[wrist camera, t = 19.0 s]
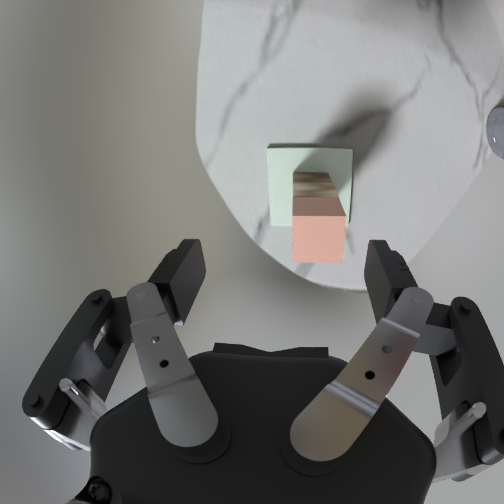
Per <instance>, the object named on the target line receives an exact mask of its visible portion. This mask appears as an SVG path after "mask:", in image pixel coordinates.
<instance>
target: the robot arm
mask: <svg viewBox="0 0 504 504" xmlns="http://www.w3.org/2000/svg"><path fill="white" fill-rule="evenodd" d="M487 138H488V142H489V145H490V147H491V149H492V150H493V152H494V153H495V154H496V155H497V156H499V157H500V158H503V159H504V107H496V108H495V109H493V111H492V112H491V113H490V115H489V118H488V121H487ZM205 273H206V268H205V262H204V257H203V252H202V247H201V243H200V240H199V239H184V240H183V241H182V242H181V243H180V245H179V246H178V248H177V249H173V250H172V251H170V252H169V253H168V254H166V256H165V257H164V259H163V260H162V262H161V263H160V264H159V265H158V267H157V268H156V270H155V271H154V273H153V274H152V275H151V277H150V279H149V280H148V281H147V282H145V283H140V284H138V285H136V286H134V287H132V288H131V289H130V290H129V291H128V293H127V295H126V296H124V297H118V298H112V296H111V294H110V292H109V291H108V290H106V289H101V290H97V291H94V292H92V293H91V294H89V295H88V296H87V297H86V299H85V300H84V301H83V303H82V304H81V305H80V307H79V308H78V310H77V311H76V312H75V314H74V315H73V317H72V318H71V320H70V321H69V323H68V324H67V325H66V327H65V328H64V330H63V331H62V333H61V334H60V336H59V337H58V339H57V341H56V342H55V344H54V345H53V347H52V349H51V350H50V352H49V353H48V355H47V356H46V358H45V360H44V361H43V363H42V365H41V366H40V368H39V370H38V372H37V373H36V375H35V377H34V379H33V380H32V382H31V384H30V386H29V388H28V389H27V391H26V393H25V395H24V397H23V402H22V408H23V411H24V413H25V414H26V415H27V416H28V417H29V418H31V419H32V420H33V421H34V422H35V423H37V424H38V425H39V427H41V428H42V429H43V430H44V431H45V432H47V433H48V434H49V435H51V436H52V437H53V438H55V439H56V440H58V441H59V442H62V443H63V444H65V445H66V446H68V447H69V448H71V449H73V450H81V449H85V450H87V451H90V454H91V470H90V477H89V480H88V482H87V484H86V486H85V487H84V488H83V490H82V491H81V492H80V493H79V494H78V495H76V496H75V497H74V498H73V499H71V500H70V501H68V502H67V503H66V504H423V503H424V500H425V497H426V495H427V492H428V489H429V487H430V485H431V483H434V482H438V481H442V480H446V479H449V478H451V479H452V480H454V481H464V480H466V479H468V478H470V477H472V476H474V475H476V474H478V473H479V472H481V471H483V470H485V469H487V468H489V467H490V466H492V465H494V464H495V463H497V462H499V461H500V460H502V459H503V458H504V365H503V362H502V359H501V357H500V355H499V352H498V349H497V347H496V345H495V342H494V340H493V337H492V336H491V334H490V331H489V329H488V326H487V324H486V322H485V320H484V318H483V316H482V314H481V312H480V310H479V308H478V306H477V305H476V304H475V303H474V302H473V301H472V300H470V299H468V298H466V297H456V298H454V299H453V301H452V302H451V305H450V306H448V305H444V304H439V303H435V302H434V300H433V297H432V296H431V294H429V292H427V291H426V290H424V289H422V288H419V287H418V285H417V283H416V281H415V279H414V278H413V276H412V274H411V272H410V271H409V268H408V266H407V265H406V262H405V260H404V258H403V257H402V256H401V255H400V254H399V253H398V252H397V251H391V250H390V248H389V246H388V244H387V242H386V240H370V241H369V244H368V250H367V257H366V263H365V269H364V278H365V283H366V286H367V290H368V293H369V297H370V300H371V304H372V308H373V312H374V316H375V319H376V323H377V326H376V327H375V328H374V330H373V331H372V333H371V334H370V335H369V337H368V338H367V339H366V341H365V342H364V343H363V345H362V346H361V347H360V349H359V350H358V352H357V353H356V354H355V355H354V357H353V358H352V359H351V360H350V362H349V363H348V362H346V361H344V360H342V359H339V358H336V357H333V356H329V354H328V347H298V348H293V349H287V350H281V351H275V352H267V351H263V350H259V349H256V348H252V347H248V346H245V345H239V344H226V343H215V345H214V348H213V351H207V352H203V353H199V354H197V355H194V356H192V357H190V358H188V357H187V355H186V353H185V350H184V348H183V346H182V344H181V342H180V340H179V338H178V335H177V333H176V331H175V329H174V324H177V325H184V323H185V320H186V318H187V316H188V314H189V311H190V309H191V307H192V305H193V302H194V300H195V298H196V296H197V293H198V292H199V289H200V287H201V285H202V283H203V281H204V278H205ZM99 332H100V334H101V336H102V339H101V341H100V343H99V344H98V346H97V348H96V350H95V351H94V347H93V344H94V341H95V339H96V337H97V335H98V334H99ZM131 343H134V345H135V348H136V352H137V356H138V359H139V363H140V366H141V370H142V373H143V376H144V379H145V383H146V387H145V388H143V389H142V390H140V391H139V392H137V393H136V394H134V395H133V396H131V397H130V398H128V399H127V400H125V401H124V402H122V403H120V404H119V405H117V406H116V407H114V408H112V409H111V410H109V411H108V412H106V405H105V400H106V398H107V396H108V393H109V391H110V389H111V386H112V384H113V382H114V379H115V377H116V375H117V372H118V370H119V368H120V366H121V364H122V362H123V360H124V357H125V355H126V353H127V351H128V349H129V347H130V345H131ZM412 351H414V352H419V353H425V354H429V357H430V361H431V365H432V369H433V373H434V378H435V382H436V387H437V392H438V397H439V403H440V409H441V415H442V422H441V423H440V424H439V425H438V426H437V428H436V431H435V440H434V444H432V442H431V441H430V439H429V438H428V437H427V436H426V435H425V434H424V433H423V432H422V431H421V430H420V429H419V428H418V427H417V426H416V425H415V424H414V423H412V422H411V421H410V420H409V419H408V418H407V417H406V416H405V415H404V414H403V413H402V412H401V411H400V410H399V409H398V408H397V407H396V406H395V405H394V404H393V403H392V402H391V401H389V400H388V399H387V398H386V396H387V395H388V393H389V392H390V390H391V388H392V386H393V385H394V383H395V381H396V380H397V378H398V376H399V375H400V373H401V371H402V369H403V367H404V366H405V364H406V362H407V360H408V358H409V356H410V354H411V352H412Z"/></svg>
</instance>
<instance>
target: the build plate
mask: <svg viewBox="0 0 504 504" xmlns="http://www.w3.org/2000/svg"><path fill="white" fill-rule="evenodd" d="M352 160H353V150H352V149H346V148H318V147H275V148H267V164H268V182H269V202H270V223H271V226H292V203H293V172H317V173H328V174H329V176H330V178H331V180H332V183H333V184H334V186H335V188H336V190H337V193H338V195H339V199H340V202H341V204H342V207H343V209H344V212H345V214H346V227H348V222H349V211H350V198H351V182H352Z"/></svg>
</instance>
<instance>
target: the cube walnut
mask: <svg viewBox="0 0 504 504" xmlns="http://www.w3.org/2000/svg"><path fill="white" fill-rule="evenodd" d="M293 182H308V183H332V180H331V178H330V176H329V174H328V173H317V172H293Z"/></svg>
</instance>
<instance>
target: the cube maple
mask: <svg viewBox="0 0 504 504" xmlns="http://www.w3.org/2000/svg"><path fill="white" fill-rule="evenodd" d="M293 197H339V195H338V193H337V190H336V188H335V186H334V184H333V183H308V182H293Z"/></svg>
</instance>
